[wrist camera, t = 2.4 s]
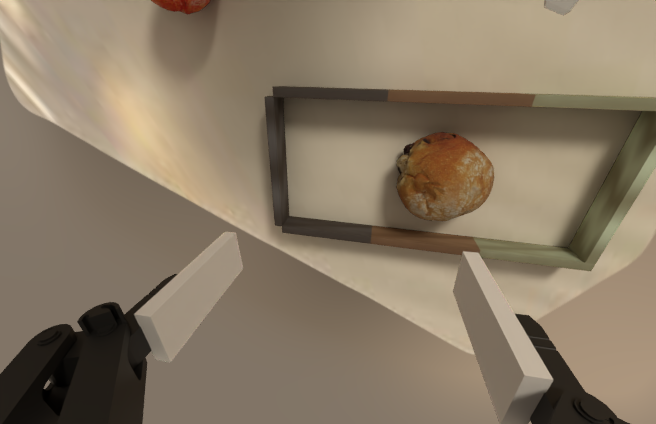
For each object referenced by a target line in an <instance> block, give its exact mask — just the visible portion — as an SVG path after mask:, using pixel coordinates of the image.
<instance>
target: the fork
mask: <svg viewBox="0 0 656 424" xmlns="http://www.w3.org/2000/svg"><path fill="white" fill-rule="evenodd" d="M577 2H578V0H545V7H544V8H547V9H549V10H551V11H554V12H556V13H558V14H561V15H565V14H567V13H569V12H570V11H571V10H572V8H573V7H574V6H575V4H576V3H577Z"/></svg>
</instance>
